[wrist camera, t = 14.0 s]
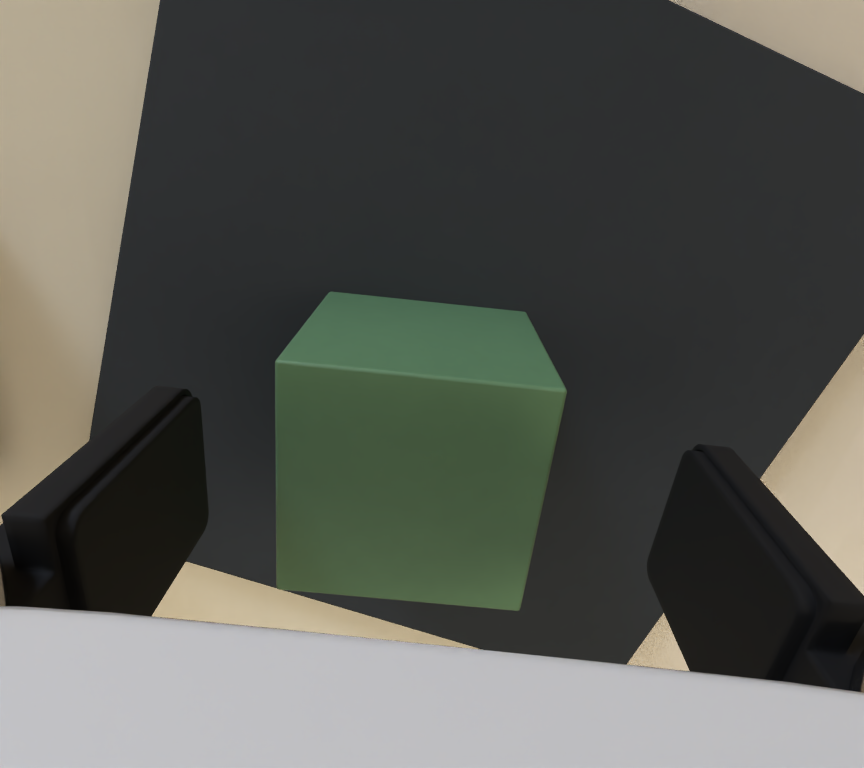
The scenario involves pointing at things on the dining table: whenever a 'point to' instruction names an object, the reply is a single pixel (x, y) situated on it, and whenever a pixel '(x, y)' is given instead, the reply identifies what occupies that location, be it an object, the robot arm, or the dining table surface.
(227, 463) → the mat
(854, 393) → the dining table surface
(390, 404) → the green block
